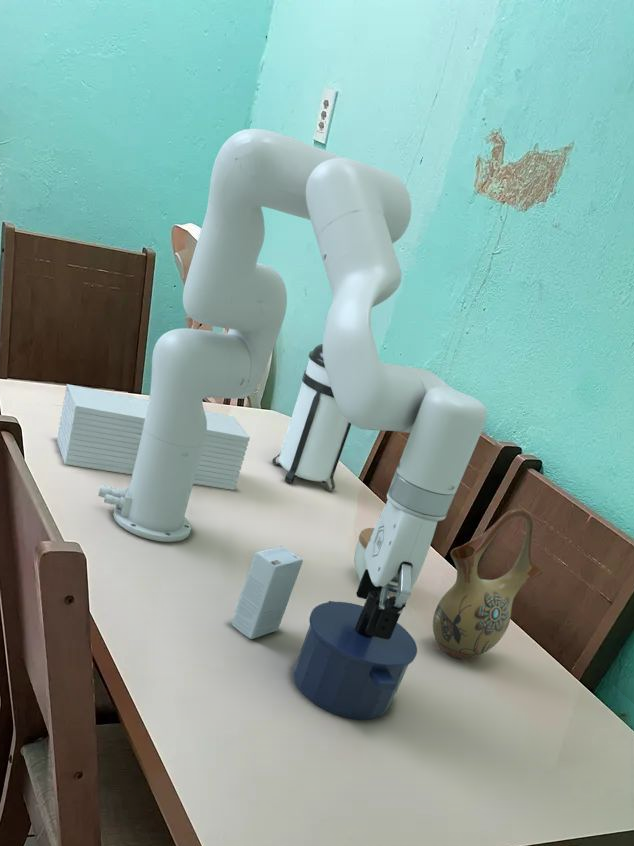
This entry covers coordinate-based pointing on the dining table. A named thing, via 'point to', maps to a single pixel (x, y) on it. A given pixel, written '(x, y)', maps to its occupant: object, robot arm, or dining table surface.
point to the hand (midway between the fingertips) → (371, 616)
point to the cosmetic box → (266, 592)
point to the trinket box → (363, 552)
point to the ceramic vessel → (481, 595)
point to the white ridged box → (121, 433)
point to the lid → (361, 634)
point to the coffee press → (314, 428)
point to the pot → (344, 681)
